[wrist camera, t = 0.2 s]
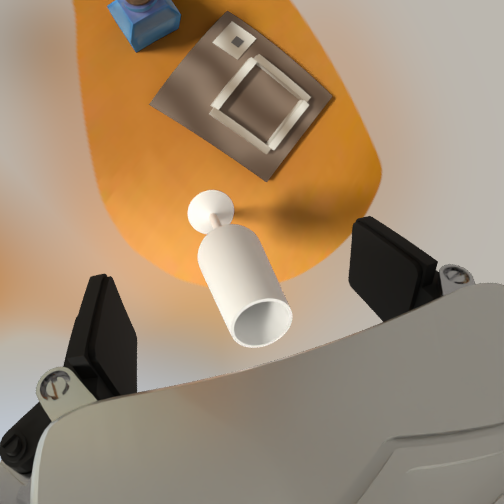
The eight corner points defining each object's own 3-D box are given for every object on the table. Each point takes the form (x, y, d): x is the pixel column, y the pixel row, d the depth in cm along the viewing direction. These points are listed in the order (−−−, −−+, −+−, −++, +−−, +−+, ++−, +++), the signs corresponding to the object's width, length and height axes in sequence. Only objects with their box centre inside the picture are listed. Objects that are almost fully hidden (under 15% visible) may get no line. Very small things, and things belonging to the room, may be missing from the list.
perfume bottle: (115, 20, 25) (96, -12, 15) (157, -4, 25) (155, -43, 15) (136, 52, 29) (123, 29, 18) (178, 28, 28) (184, -3, 18)
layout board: (225, 13, 29) (229, 7, 26) (327, 96, 38) (338, 96, 35) (149, 104, 32) (148, 104, 30) (263, 179, 41) (270, 185, 39)
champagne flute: (178, 205, 40) (198, 318, 19) (220, 181, 40) (286, 268, 19) (202, 242, 43) (242, 367, 23) (242, 219, 43) (315, 327, 23)
